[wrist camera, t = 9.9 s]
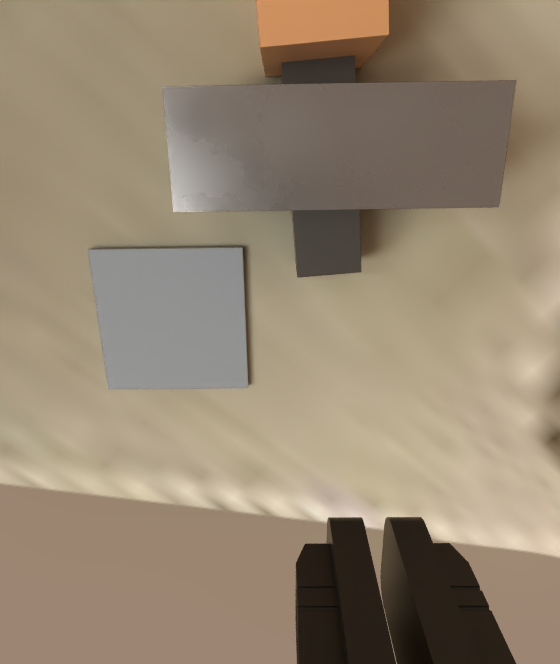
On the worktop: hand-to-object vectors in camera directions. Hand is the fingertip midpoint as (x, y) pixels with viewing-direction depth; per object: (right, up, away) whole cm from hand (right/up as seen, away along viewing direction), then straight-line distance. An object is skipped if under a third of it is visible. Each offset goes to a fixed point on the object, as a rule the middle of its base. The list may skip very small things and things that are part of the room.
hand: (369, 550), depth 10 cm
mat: (-8, +5, +16) cm, 19 cm away
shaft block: (0, +14, +13) cm, 19 cm away
